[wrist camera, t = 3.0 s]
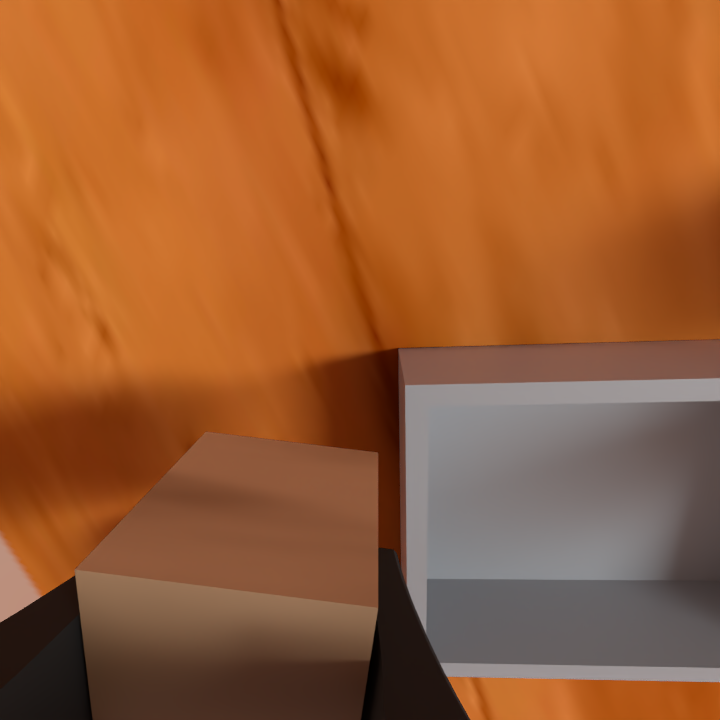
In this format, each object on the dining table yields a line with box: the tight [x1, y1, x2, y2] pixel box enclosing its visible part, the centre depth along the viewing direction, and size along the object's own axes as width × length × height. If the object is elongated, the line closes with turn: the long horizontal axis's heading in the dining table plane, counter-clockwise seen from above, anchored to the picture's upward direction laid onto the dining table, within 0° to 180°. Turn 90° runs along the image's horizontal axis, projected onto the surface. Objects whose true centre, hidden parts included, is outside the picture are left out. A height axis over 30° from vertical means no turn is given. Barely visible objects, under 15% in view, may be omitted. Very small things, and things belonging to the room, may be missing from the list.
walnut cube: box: [75, 432, 378, 720], centre depth 9 cm, size 5×5×5 cm
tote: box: [398, 339, 720, 682], centre depth 17 cm, size 14×18×5 cm
